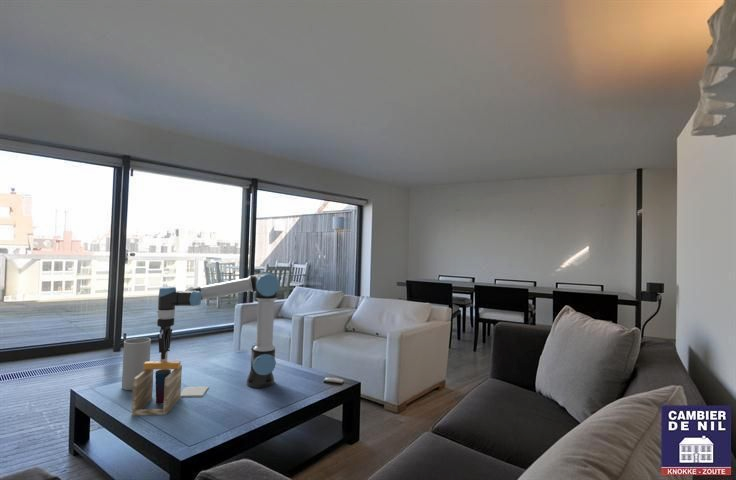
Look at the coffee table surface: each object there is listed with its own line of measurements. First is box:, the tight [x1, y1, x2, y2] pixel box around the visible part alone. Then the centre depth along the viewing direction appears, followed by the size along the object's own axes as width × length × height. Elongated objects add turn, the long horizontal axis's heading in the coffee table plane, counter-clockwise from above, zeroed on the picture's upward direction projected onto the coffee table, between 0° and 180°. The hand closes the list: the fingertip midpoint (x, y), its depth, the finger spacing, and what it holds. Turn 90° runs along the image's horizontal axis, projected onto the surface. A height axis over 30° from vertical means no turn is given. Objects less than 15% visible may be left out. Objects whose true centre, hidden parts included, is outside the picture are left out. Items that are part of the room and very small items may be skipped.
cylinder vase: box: [121, 337, 152, 391], centre depth 207 cm, size 12×12×25 cm
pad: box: [180, 386, 209, 398], centre depth 202 cm, size 12×12×1 cm
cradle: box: [131, 364, 183, 416], centre depth 184 cm, size 15×19×17 cm
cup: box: [154, 369, 172, 404], centre depth 189 cm, size 7×7×15 cm
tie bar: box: [143, 360, 181, 370], centre depth 188 cm, size 16×3×3 cm, turn 99°
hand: (163, 364), depth 190 cm, fingers closed
